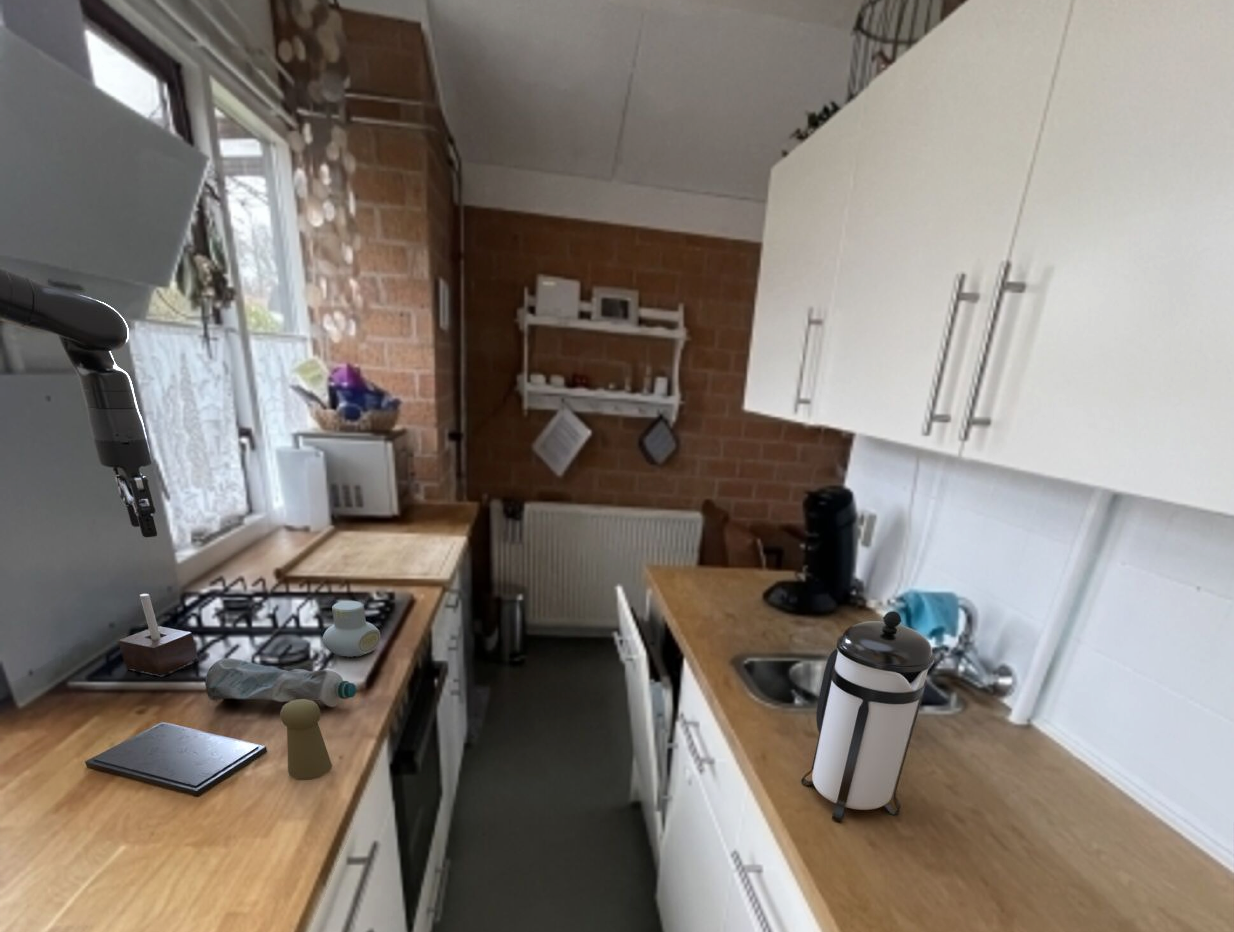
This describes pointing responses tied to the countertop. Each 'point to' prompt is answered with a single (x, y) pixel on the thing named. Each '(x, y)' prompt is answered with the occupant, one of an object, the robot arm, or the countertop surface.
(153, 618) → the stylus
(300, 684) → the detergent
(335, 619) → the air freshener
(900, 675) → the coffee press
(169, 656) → the pen stand
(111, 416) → the robot arm
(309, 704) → the olive green pawn
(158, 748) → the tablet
